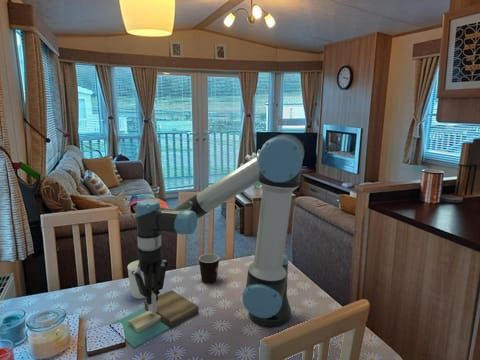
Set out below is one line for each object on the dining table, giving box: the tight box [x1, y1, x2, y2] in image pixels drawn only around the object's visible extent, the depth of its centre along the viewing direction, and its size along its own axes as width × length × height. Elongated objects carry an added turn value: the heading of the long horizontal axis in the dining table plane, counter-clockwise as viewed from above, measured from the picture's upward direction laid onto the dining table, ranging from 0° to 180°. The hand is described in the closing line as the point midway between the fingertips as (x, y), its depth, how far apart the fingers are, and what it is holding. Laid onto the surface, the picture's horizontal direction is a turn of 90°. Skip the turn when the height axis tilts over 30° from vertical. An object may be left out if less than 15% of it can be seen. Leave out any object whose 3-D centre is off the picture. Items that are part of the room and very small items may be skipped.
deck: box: [143, 289, 199, 329], centre depth 122 cm, size 16×12×2 cm
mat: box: [108, 307, 171, 349], centre depth 113 cm, size 16×13×1 cm
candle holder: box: [127, 259, 146, 300], centre depth 132 cm, size 10×10×12 cm
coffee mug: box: [198, 253, 220, 285], centre depth 144 cm, size 12×9×10 cm
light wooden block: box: [128, 311, 162, 333], centre depth 114 cm, size 6×9×2 cm, turn 137°
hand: (152, 310), depth 116 cm, fingers closed
